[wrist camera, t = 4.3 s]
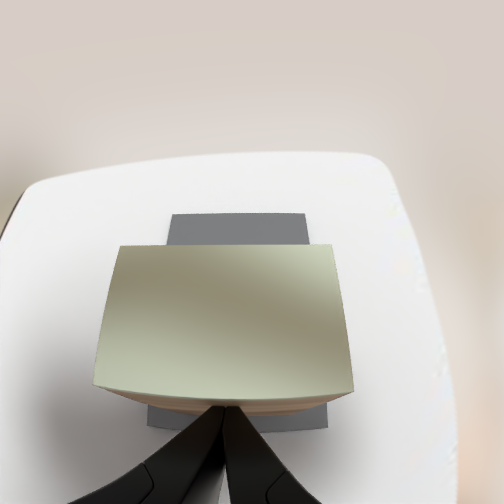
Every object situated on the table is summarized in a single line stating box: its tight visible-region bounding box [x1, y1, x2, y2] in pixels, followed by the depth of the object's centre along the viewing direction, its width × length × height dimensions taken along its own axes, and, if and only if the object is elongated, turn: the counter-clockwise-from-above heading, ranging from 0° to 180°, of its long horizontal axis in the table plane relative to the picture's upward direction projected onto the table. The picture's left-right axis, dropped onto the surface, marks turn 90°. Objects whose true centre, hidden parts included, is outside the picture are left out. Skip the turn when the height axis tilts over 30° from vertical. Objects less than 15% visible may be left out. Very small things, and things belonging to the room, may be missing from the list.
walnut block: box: [93, 245, 354, 416], centre depth 11 cm, size 4×6×10 cm, turn 91°
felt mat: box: [147, 213, 328, 433], centre depth 18 cm, size 15×10×1 cm, turn 1°
